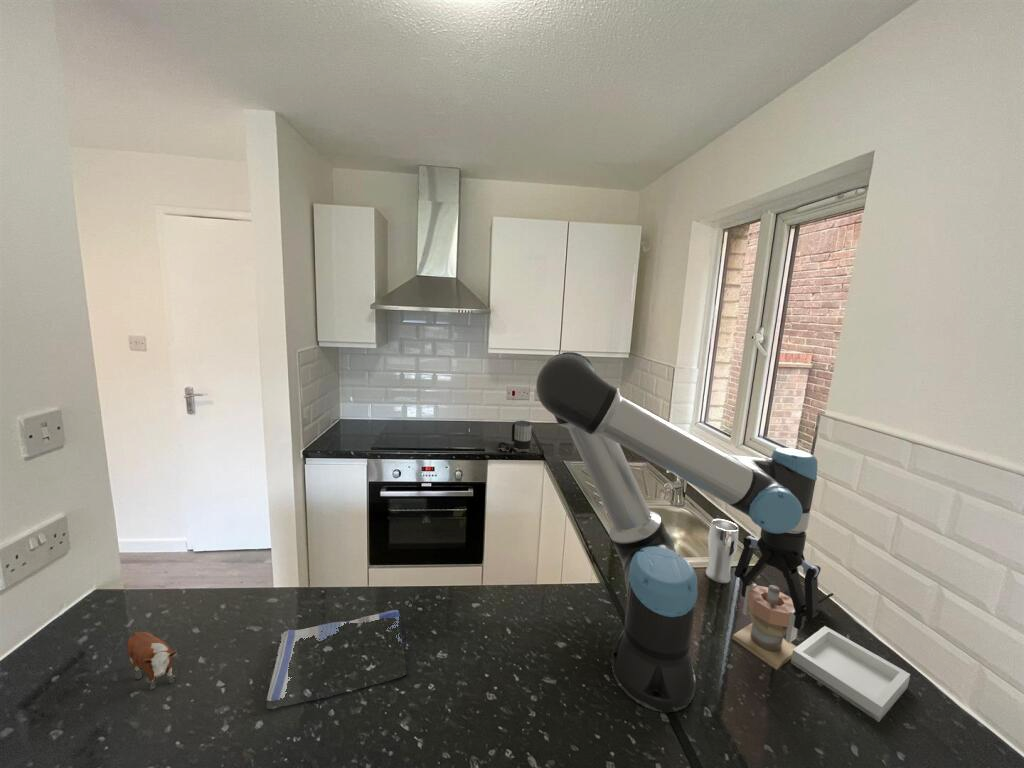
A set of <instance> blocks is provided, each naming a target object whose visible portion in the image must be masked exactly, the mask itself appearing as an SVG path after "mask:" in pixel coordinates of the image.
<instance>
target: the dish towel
mask: <svg viewBox="0 0 1024 768" xmlns="http://www.w3.org/2000/svg"><path fill="white" fill-rule="evenodd" d="M399 616H400V611H399V610H398V609H393V610H388V611H384V612H381V613H376V614H373V615H367V616H362V617H359V619H358V618H356V619H354V620H353V619H352V620H348V621H334V622H328V623H322V624H319V625H317V626H311V627H307V628H302V629H295V630H294V629H287V630H285V631H284V632H283V633H281V634H280V637H281V638H280V641H281V643H280V642H279V645H280V646H278V650H277V655H278V656H277V655H276V658H275V662H274V664H275V665H274V667H275V668H273V671H272V675H271V679H270V684H269V689H268V693H267V697H266V701H267V700H268V701H275V700H280V698H282V699H283V698H284V697H285V694H286V693H287V692H285V691H286V689H287V683H288V681H290V679H291V678H292V677H291V678H290V677H288V669H289V668H288V667H289V662H290V660H291V657H292V654H293V653H294V652H293V648H294V645H295V642H296V641H298V640H299V639H300V638H303V639H304V638H305V639H306V638H308V637H309V638H310V637H312V636H313V635H314V636H315V638H317V639H316V640H318V641H322V640H324V639H326V638H327V636H329V635H330V636H331V635H333V634H336V633H337V632H336V631H338V632H339V629H338V627H341V626H343V625H344V623H345V624H346V623H348V622H349V624H350V623H363V622H365V623H366V622H371V621H375V620H379V619H382V618H395V619H396V620H397V621H395V622H396V623H397V624H396V623H395V622H394V623H395V624H396V625H395V624H394V623H393V624H394V625H392V626H391V627H392V629H393V628H396V626H397V627H398V626H399V625H398V623H399V621H398V620H399ZM394 626H395V627H394ZM391 627H390V628H389V627H388V628H389V629H391ZM336 628H337V629H336ZM388 628H387V629H388ZM321 631H322V632H321ZM399 634H400V633H399ZM399 634H398V638H397V635H396V638H397V639H398V642H399V641H401V643H402V638H401V639H400V637H399ZM323 638H324V639H323ZM305 639H304V640H305ZM319 639H320V640H319ZM400 646H401V645H400ZM288 678H289V679H288ZM332 683H333V682H332Z"/></svg>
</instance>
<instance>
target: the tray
mask: <svg viewBox="0 0 1024 768" xmlns="http://www.w3.org/2000/svg"><path fill="white" fill-rule="evenodd" d="M796 646H797V647H796V648H795V649H793V652H792V658H791V659H790V663H791V664H792V665H793V666H795V667H796V668H797V669H799V670H800V671H802V672H804V673H806V675H808V676H810V677H811V678H812V679H814V680H815V681H817V682H818V683H820V684H821V685H823V686H825V688H828V689H829V691H832V692H833V693H835V694H836V695H837V696H840V697H841V698H843V699H844V700H845V701H847V703H850V704H851V705H853V706H854V707H855V708H857V709H859V710H860V711H862V712H863V713H864V714H866V715H868V716H869V717H871V718H872V719H873V720H875V721H877V722H878V723H880V721H881V720H883V718H884V716H886V715H887V713H888V712H889V711H890V710H891V708H892V707H893V706H894V705H895V703H896V702H897V701H898V699H900V698H901V696H902V695H903V694H904V692H905V691H906V690H907V689H908V687H909V682H910V678H911V673H909V672H907V671H906V670H904V669H902V668H901V667H898V666H897V665H895V664H894V663H891V662H890V661H888V660H886V659H884V658H882V657H881V656H880V655H877V654H876V653H874V652H872V651H870V650H868V649H866V648H865V647H863V646H861V645H859V644H858V643H856V642H854V641H852V640H851V639H849V638H847V637H845V636H844V635H842V634H840V633H839V632H837V631H835V630H833V629H832V628H830V627H827V626H826V625H824V626H823V627H821V628H820V629H818V631H816V632H814V633H813V634H812V635H810V636H809V637H808V638H807V639H805V640H804V641H803V642H801V643H800V644H799V645H796Z"/></svg>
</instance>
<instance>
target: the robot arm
mask: <svg viewBox="0 0 1024 768" xmlns="http://www.w3.org/2000/svg"><path fill="white" fill-rule="evenodd" d="M535 386H536V394H537V397H538V399H539V402H540V403H541V405H542V406H543V407H544V409H546V410H547V411H548V412H549V413H551V414H552V415H553V416H554V418H555V420H556V422H557V425H558V426H561V427H563V428H566V429H568V432H569V433H570V434H569V435H570V437H571V438H572V440H573V442H574V445H575V447H576V449H577V451H578V454H579V456H580V458H581V459H582V463H583V464H584V466H585V468H586V471H587V473H588V476H589V478H590V480H591V482H592V484H593V485H594V488H595V490H596V493H597V494H598V497H599V499H600V501H601V503H602V506H603V507H604V510H605V512H606V514H607V516H608V518H609V521H610V523H611V527H610V530H609V533H608V534H609V538H610V539H611V542H612V543H613V545H614V548H615V551H616V552H617V556H618V557H619V559H620V562H621V565H622V569H623V576H624V581H625V583H624V584H625V588H626V604H625V605H626V607H625V616H624V627H623V630H622V632H621V633H620V636H619V638H618V639H617V641H616V643H615V645H614V647H613V649H612V654H611V661H612V667H613V670H614V673H615V675H616V677H617V678H618V680H619V682H620V683H621V684H622V686H623V687H624V688H625V689H626V690H627V691H628V692H629V693H630V694H631V695H632V696H633V697H635V698H636V699H638V700H640V701H642V702H645V703H647V704H649V705H650V706H652V707H654V708H656V709H658V710H661V711H663V712H662V713H665V714H667V713H668V714H670V713H669V711H670V709H671V708H672V707H675V708H677V707H681V706H685V705H687V704H688V703H689V702H691V700H692V699H693V700H694V698H693V697H695V694H694V693H695V692H696V686H697V683H696V682H697V680H696V678H697V677H696V675H695V674H696V673H695V670H694V667H693V663H692V659H691V653H690V647H691V646H690V645H691V640H692V631H693V624H694V616H695V609H696V604H697V603H696V602H697V599H698V590H699V589H698V578H697V576H698V575H697V574H696V571H695V569H694V567H693V566H692V564H691V563H690V562H689V561H688V559H686V558H685V557H683V556H680V554H679V553H678V552H677V551H676V549H675V545H674V541H673V540H672V539H673V538H672V537H671V535H670V533H669V532H668V531H667V529H666V526H665V524H664V522H663V520H662V518H661V516H660V515H659V513H657V512H655V511H653V510H650V508H649V506H648V505H647V502H646V500H645V498H644V496H643V493H642V490H641V488H640V487H639V484H638V482H637V480H636V478H635V475H634V473H633V471H632V468H631V467H630V465H629V462H628V460H627V458H626V456H625V454H624V451H623V449H622V447H621V446H623V447H624V448H626V449H628V450H629V451H632V452H633V453H635V454H637V455H638V456H641V457H642V458H644V459H646V460H648V461H649V462H651V463H653V464H654V465H656V466H658V467H660V468H662V469H664V470H666V471H668V472H669V473H671V474H674V476H676V477H679V478H680V479H682V480H683V481H685V482H687V483H689V484H691V485H693V486H695V487H697V488H698V489H700V490H702V491H704V492H706V493H707V494H709V495H711V496H713V497H714V498H716V499H718V500H720V501H722V502H724V503H726V504H727V505H729V506H731V507H732V508H734V509H736V510H737V511H739V512H741V513H743V514H744V515H746V516H747V517H749V518H750V519H751V521H752V522H753V523H754V524H755V525H757V526H758V527H759V528H760V529H761V530H760V538H756V537H755V536H754V535H753V534H751V535H748V536H746V537H743V549H742V551H741V555H740V556H739V560H738V562H737V566H736V568H735V570H734V576H735V577H736V578H738V579H739V580H740V581H741V583H742V588H741V592H740V593H741V597H743V598H744V601H743V606H742V607H743V608H742V614H743V615H745V616H747V615H750V612H751V610H750V608H749V606H748V604H747V599H748V593H749V590H750V589H752V588H754V587H756V586H758V585H757V583H754V581H756V579H757V577H758V576H759V575H761V573H762V572H763V571H764V570H765V568H766V567H767V566H768V565H769V566H770V567H773V568H776V569H777V570H778V571H780V572H782V575H783V577H784V579H785V581H786V584H787V587H788V590H789V591H790V595H791V599H792V602H793V606H794V609H793V610H792V611H790V617H789V623H788V628H787V634H785V635H786V636H785V641H787V642H788V643H792V642H793V641H794V640H795V639H797V636H798V631H799V630H801V629H803V628H804V627H805V622H806V617H807V618H808V619H813V618H814V617H816V616H818V615H819V613H820V612H819V611H820V609H819V608H820V607H819V604H818V599H819V582H818V580H819V579H818V577H819V575H820V573H821V568H822V567H820V566H819V565H817V564H814V565H813V564H811V563H810V562H809V561H807V560H806V558H805V556H804V552H805V551H804V550H805V546H806V541H807V540H806V539H807V532H806V531H807V530H808V527H809V521H810V517H811V516H810V515H811V508H812V504H813V503H812V502H813V498H814V491H815V486H816V481H817V480H818V478H817V476H818V463H819V462H818V459H817V457H816V456H814V455H813V454H811V453H809V452H806V451H805V450H801V449H797V448H790V447H782V448H781V447H778V448H775V449H774V450H773V452H772V454H771V455H770V457H758V456H755V457H754V456H746V455H737V454H736V455H735V454H729V453H724V452H723V451H721V450H719V449H718V448H715V447H714V446H712V445H710V444H708V443H706V442H704V441H703V440H701V439H699V438H697V437H695V436H694V435H692V434H690V433H688V432H686V431H685V430H683V429H681V428H679V427H677V426H676V425H673V424H672V423H670V422H668V421H666V420H664V419H662V418H661V417H659V416H657V415H655V414H654V413H651V412H650V411H648V410H647V409H644V408H643V407H640V406H639V405H637V404H635V403H633V402H632V401H630V400H628V399H626V398H624V397H623V396H622V395H621V393H620V389H619V388H618V387H617V386H614V385H612V384H610V383H609V382H607V381H606V380H604V379H603V378H602V377H601V376H599V375H598V374H597V372H596V369H595V366H594V365H593V363H592V361H590V359H588V358H587V357H586V356H584V355H582V354H580V353H577V352H573V351H567V352H566V351H565V352H562V353H559V354H555V356H553V357H550V358H549V360H547V361H546V363H545V364H544V366H543V367H542V368H541V370H540V371H539V373H538V375H537V379H536V385H535ZM757 547H758V549H759V551H760V553H761V556H760V557H759V559H758V560H757V561H756V563H755V564H754V565H753V566H752V568H751V569H750V570H749V569H748V568H749V566H750V563H751V562H752V559H753V556H754V552H755V550H756V548H757ZM798 567H802V569H803V574H804V592H803V588H802V584H801V582H800V576H799V575H800V573H799V569H798ZM748 570H749V571H748ZM747 571H748V572H747ZM804 596H805V598H804ZM691 703H692V702H691Z"/></svg>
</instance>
